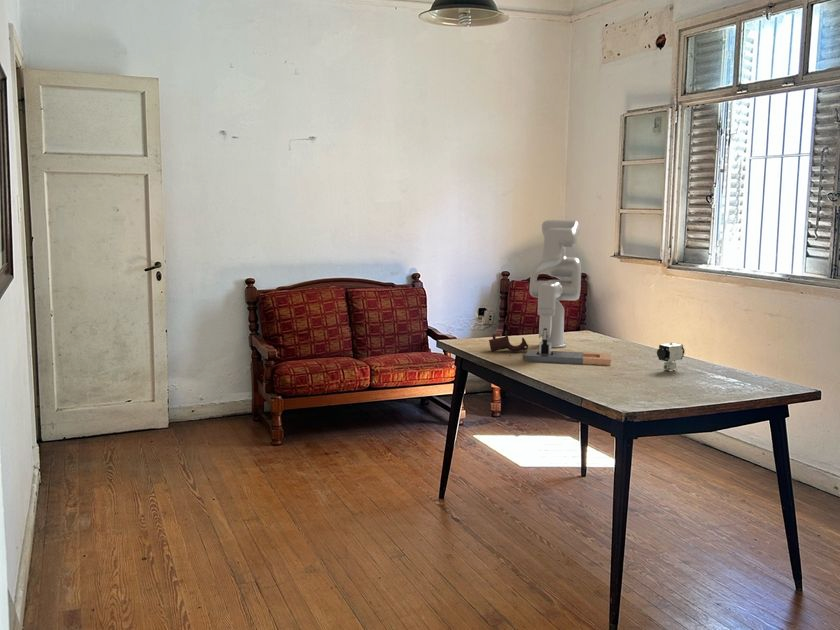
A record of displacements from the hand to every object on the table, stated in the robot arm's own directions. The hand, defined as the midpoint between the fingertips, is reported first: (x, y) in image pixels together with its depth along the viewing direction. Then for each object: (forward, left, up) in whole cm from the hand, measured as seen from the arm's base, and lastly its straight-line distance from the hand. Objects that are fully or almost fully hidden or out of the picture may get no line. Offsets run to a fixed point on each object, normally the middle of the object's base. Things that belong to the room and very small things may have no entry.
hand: (545, 352), depth 354 cm
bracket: (-14, -18, -3) cm, 22 cm away
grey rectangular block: (0, 0, -3) cm, 3 cm away
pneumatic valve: (+12, +52, -3) cm, 54 cm away
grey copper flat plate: (0, +10, -3) cm, 10 cm away
